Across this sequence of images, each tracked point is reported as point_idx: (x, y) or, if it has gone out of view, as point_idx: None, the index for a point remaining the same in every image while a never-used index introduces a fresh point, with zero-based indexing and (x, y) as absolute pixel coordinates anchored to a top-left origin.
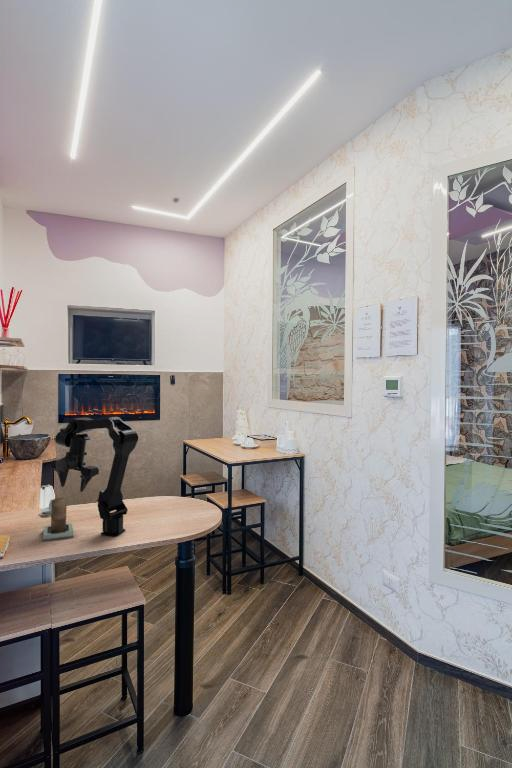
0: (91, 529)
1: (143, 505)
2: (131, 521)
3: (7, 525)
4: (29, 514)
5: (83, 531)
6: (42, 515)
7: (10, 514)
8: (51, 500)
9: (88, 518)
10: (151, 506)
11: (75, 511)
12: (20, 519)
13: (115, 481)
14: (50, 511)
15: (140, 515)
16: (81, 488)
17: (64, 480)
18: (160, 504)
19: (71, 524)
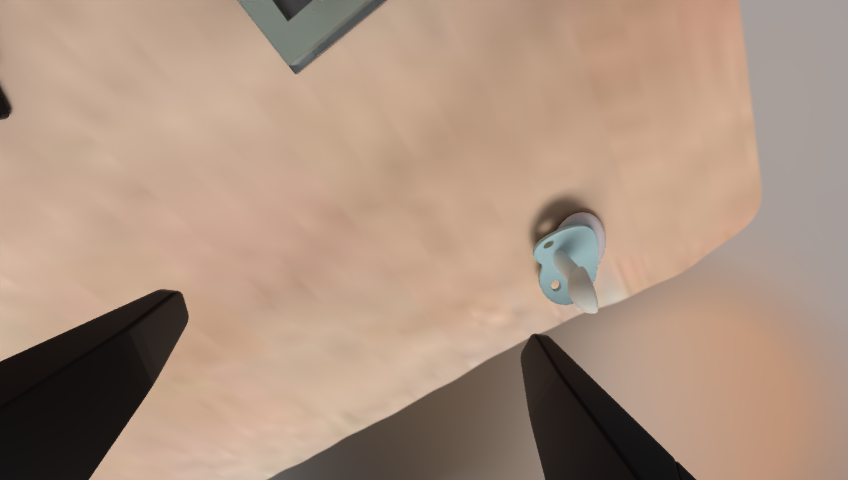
0: (139, 75)
1: (201, 434)
2: (35, 271)
3: (735, 20)
4: (651, 219)
5: (158, 16)
6: (581, 212)
7: (742, 195)
8: (589, 295)
9: (321, 248)
10: (156, 436)
11: (449, 307)
12: (679, 141)
13: None
14: (551, 235)
15: None
16: (93, 323)
17: (557, 446)
18: (140, 459)
19: (262, 28)
